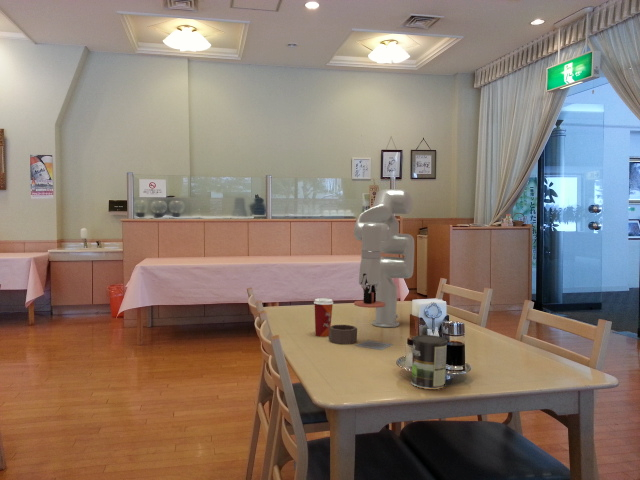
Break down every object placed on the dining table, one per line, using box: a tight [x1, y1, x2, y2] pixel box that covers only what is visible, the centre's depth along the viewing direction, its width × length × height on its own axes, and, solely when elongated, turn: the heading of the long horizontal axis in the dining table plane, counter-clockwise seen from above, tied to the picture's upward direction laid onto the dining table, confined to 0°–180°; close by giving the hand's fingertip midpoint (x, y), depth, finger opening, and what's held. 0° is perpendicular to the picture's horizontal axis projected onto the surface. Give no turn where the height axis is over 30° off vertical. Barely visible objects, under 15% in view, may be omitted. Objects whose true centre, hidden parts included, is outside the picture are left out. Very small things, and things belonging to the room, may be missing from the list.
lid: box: [353, 292, 385, 309], centre depth 210 cm, size 12×12×5 cm
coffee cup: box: [313, 297, 334, 338], centre depth 227 cm, size 8×8×15 cm
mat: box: [354, 339, 394, 351], centre depth 210 cm, size 11×11×1 cm
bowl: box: [328, 324, 358, 345], centre depth 215 cm, size 10×10×6 cm
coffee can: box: [410, 334, 448, 388], centre depth 164 cm, size 10×10×14 cm
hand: (369, 302), depth 210 cm, fingers closed on lid, 3 cm apart
